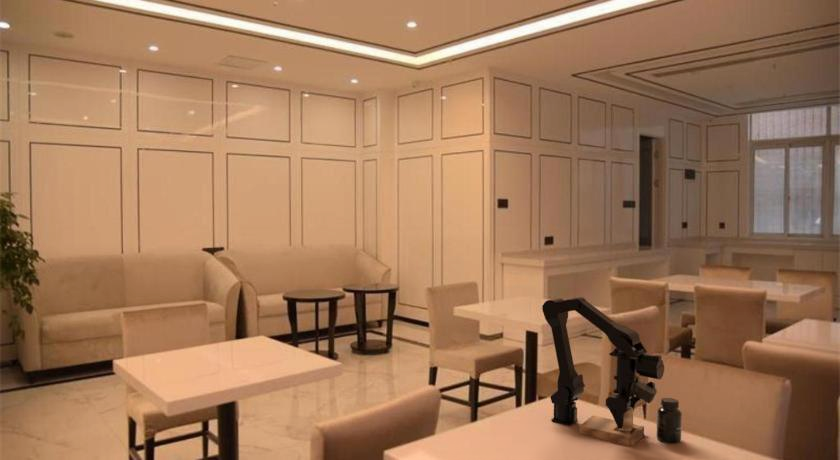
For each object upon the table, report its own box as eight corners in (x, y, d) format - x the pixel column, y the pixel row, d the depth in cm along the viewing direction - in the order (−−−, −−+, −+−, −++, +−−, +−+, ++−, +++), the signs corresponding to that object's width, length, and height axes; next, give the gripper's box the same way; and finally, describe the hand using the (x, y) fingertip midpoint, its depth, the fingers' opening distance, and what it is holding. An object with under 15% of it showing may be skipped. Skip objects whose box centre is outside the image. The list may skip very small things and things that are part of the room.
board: (579, 433, 181) (580, 425, 181) (592, 423, 190) (592, 415, 190) (633, 446, 172) (633, 437, 172) (644, 434, 181) (644, 426, 181)
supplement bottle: (683, 445, 173) (684, 404, 173) (658, 443, 175) (659, 402, 174) (678, 436, 180) (679, 397, 179) (654, 434, 181) (655, 395, 181)
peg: (615, 438, 178) (615, 408, 178) (619, 433, 181) (620, 404, 181) (630, 441, 175) (630, 411, 175) (634, 437, 179) (635, 407, 179)
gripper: (645, 385, 165) (643, 440, 166) (662, 370, 180) (661, 420, 181) (605, 377, 172) (604, 431, 173) (625, 364, 187) (624, 413, 188)
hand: (624, 423), depth 178 cm, fingers open, 9 cm apart
